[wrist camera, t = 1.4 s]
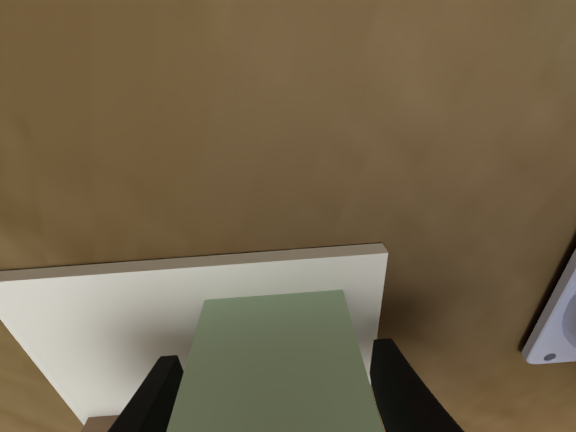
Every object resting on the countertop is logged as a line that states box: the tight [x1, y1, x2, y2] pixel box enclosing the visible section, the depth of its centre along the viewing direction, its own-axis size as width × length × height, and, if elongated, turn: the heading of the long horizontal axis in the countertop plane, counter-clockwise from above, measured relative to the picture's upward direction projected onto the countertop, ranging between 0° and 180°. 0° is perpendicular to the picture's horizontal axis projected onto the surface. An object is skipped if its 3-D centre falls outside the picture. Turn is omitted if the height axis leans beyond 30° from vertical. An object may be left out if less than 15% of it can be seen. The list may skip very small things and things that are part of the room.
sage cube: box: [166, 290, 384, 432], centre depth 9 cm, size 5×5×5 cm
